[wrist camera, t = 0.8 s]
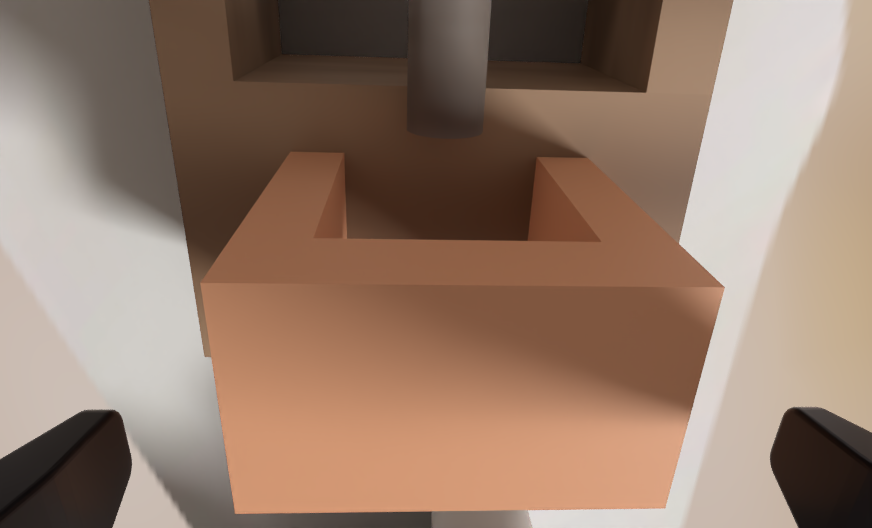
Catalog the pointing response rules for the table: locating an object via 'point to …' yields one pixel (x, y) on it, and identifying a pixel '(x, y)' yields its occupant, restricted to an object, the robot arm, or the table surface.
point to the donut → (481, 519)
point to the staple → (454, 354)
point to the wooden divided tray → (432, 116)
